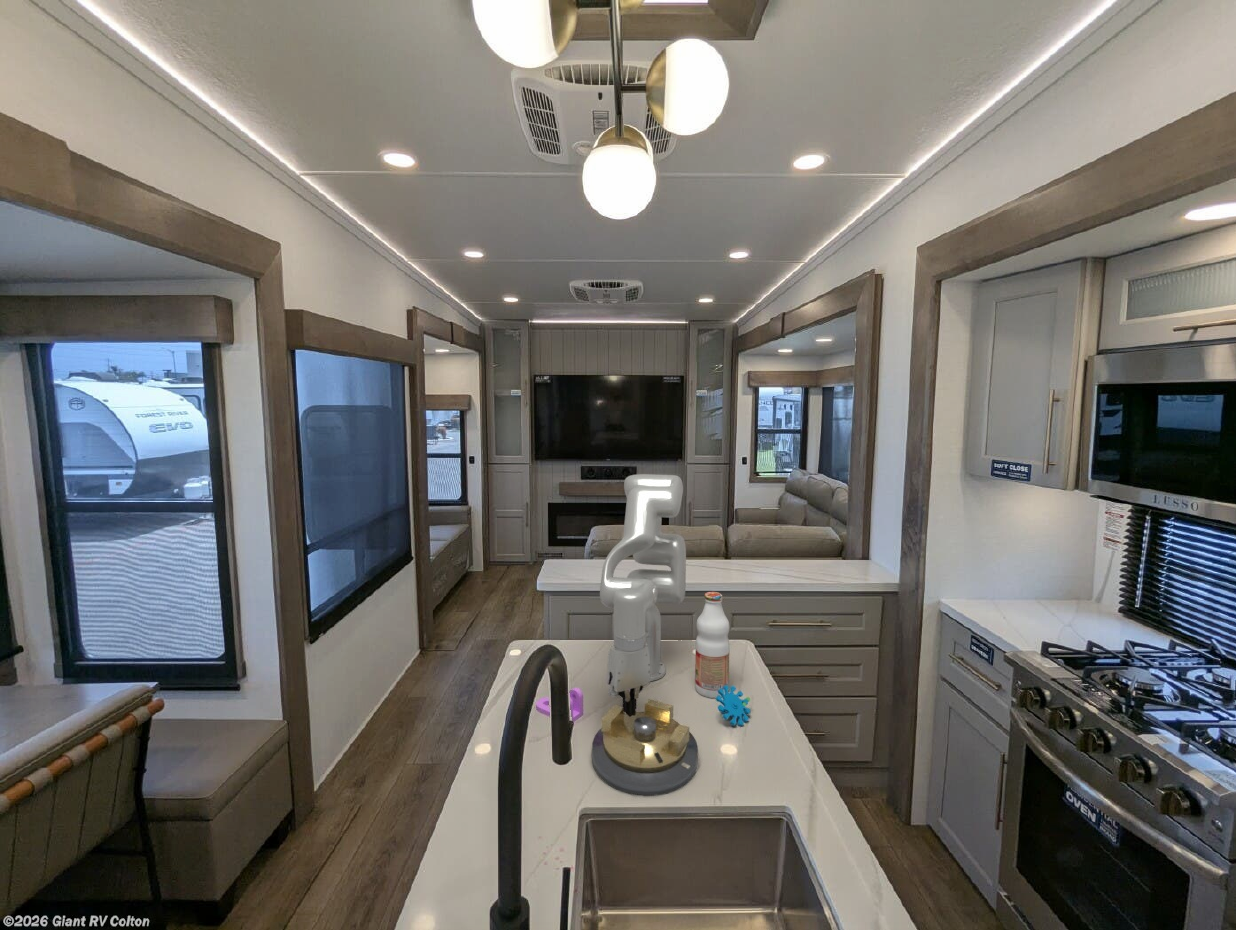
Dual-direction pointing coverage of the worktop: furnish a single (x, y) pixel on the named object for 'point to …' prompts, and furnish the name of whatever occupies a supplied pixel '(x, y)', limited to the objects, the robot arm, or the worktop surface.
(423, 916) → the worktop surface
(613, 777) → the cap flange
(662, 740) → the four-jaw chuck
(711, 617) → the fruit juice
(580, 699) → the bracket
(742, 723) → the gear
